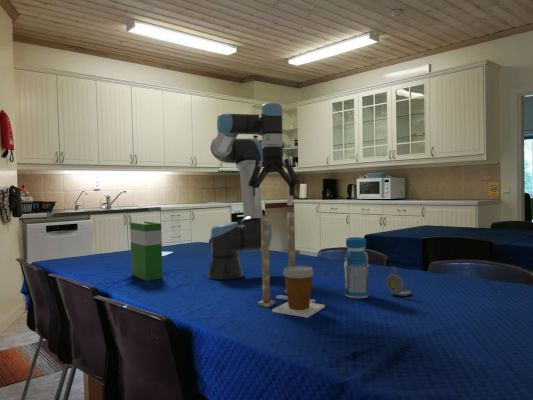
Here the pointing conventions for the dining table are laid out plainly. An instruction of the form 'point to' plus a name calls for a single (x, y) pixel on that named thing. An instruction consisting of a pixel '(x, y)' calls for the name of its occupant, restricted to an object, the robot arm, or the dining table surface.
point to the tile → (303, 313)
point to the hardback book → (146, 250)
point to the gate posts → (265, 255)
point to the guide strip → (287, 298)
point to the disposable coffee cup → (298, 286)
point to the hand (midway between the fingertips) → (273, 205)
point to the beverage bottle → (356, 268)
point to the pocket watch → (396, 284)
